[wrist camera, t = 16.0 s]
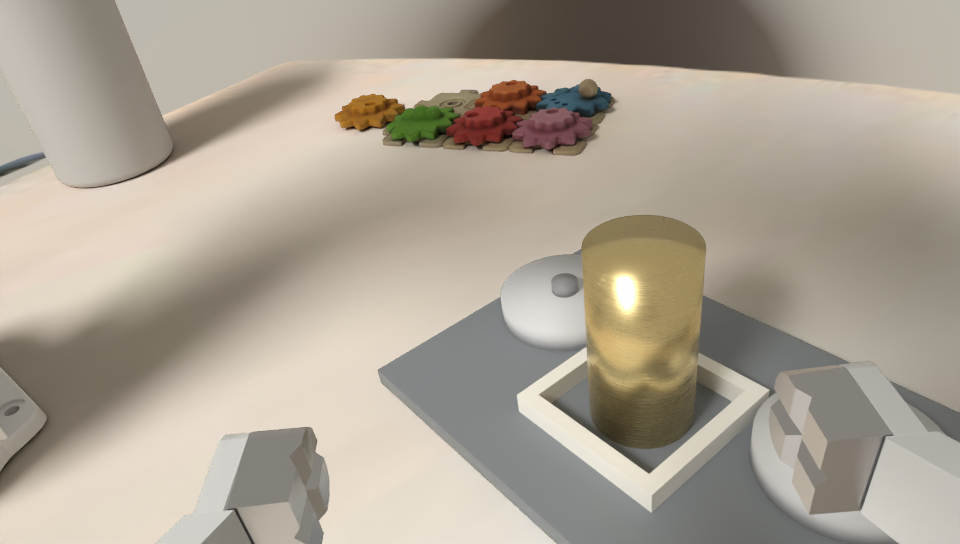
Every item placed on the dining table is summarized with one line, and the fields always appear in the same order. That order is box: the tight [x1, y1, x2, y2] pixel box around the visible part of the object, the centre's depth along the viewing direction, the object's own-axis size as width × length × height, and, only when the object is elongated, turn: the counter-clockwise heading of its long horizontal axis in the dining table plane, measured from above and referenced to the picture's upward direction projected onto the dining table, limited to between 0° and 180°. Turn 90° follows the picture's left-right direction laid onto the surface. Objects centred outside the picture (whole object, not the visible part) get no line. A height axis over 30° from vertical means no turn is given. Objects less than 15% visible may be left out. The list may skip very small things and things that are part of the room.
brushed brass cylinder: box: [582, 215, 706, 449], centre depth 32 cm, size 5×5×10 cm
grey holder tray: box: [378, 249, 960, 544], centre depth 35 cm, size 26×18×3 cm
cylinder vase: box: [0, 0, 173, 188], centre depth 70 cm, size 12×12×25 cm
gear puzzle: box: [335, 79, 614, 156], centre depth 74 cm, size 31×16×4 cm, turn 67°
